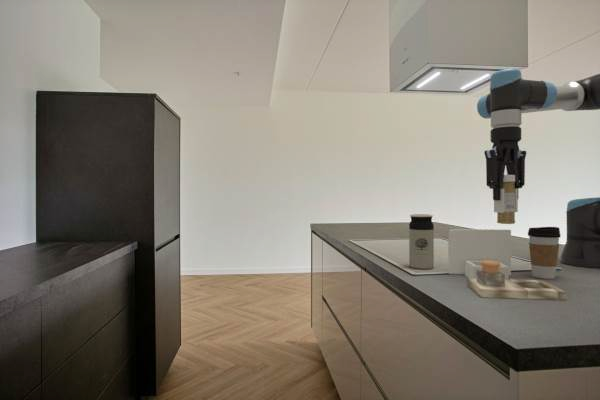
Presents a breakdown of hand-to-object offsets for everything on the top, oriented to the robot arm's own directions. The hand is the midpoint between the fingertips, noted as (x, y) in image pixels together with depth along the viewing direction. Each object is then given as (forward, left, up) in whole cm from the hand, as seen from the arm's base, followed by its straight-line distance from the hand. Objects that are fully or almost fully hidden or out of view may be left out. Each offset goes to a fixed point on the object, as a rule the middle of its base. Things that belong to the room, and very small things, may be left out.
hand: (505, 211), depth 107 cm
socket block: (+1, +8, -20) cm, 22 cm away
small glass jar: (+7, +8, -17) cm, 20 cm away
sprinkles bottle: (0, 0, -3) cm, 3 cm away
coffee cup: (-15, -12, -20) cm, 28 cm away
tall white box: (+3, -8, -20) cm, 22 cm away
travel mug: (+19, -23, -20) cm, 36 cm away
